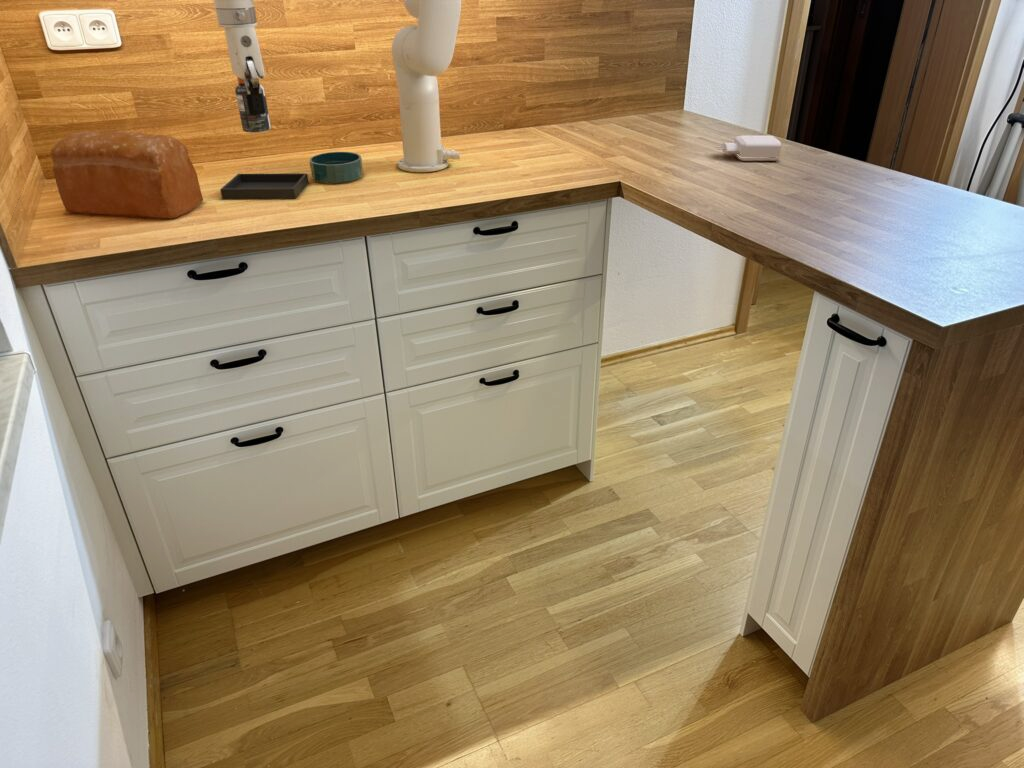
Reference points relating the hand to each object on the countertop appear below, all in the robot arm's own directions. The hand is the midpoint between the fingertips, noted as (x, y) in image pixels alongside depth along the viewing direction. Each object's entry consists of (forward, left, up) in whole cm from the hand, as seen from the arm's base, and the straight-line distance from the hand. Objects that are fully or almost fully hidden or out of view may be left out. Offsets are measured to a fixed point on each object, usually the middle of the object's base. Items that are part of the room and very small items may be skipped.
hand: (253, 110), depth 157 cm
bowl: (-14, -10, -17) cm, 24 cm away
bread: (+25, +12, -18) cm, 33 cm away
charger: (-115, -27, -18) cm, 120 cm away
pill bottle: (0, 0, -4) cm, 4 cm away
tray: (0, 0, -17) cm, 17 cm away
